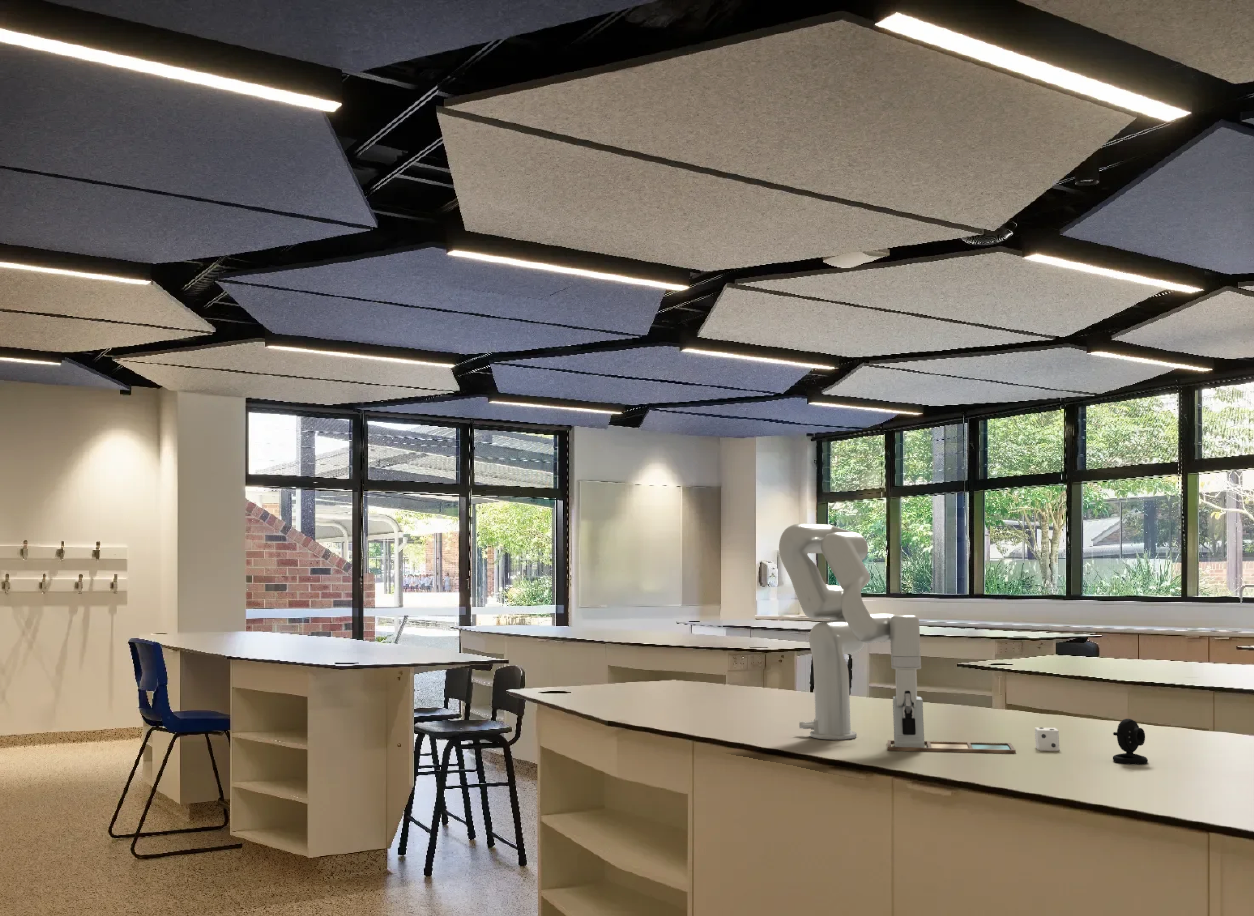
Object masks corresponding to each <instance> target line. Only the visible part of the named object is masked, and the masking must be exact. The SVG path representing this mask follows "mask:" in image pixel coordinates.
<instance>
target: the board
mask: <svg viewBox="0 0 1254 916" xmlns="http://www.w3.org/2000/svg"><path fill="white" fill-rule="evenodd" d="M891 745H894V739H893V740H892V739H891V740H890V739H887V751H896V752H899V751H900V752H937V753H938V752H939V753H940V752H941V753H942V752H943V753H976V754H978V753H979V754H982V753H983V754H1013V755H1014V754H1017V753H1016V749H1015V747H1014V746H1013V745H1012V743H1011V742H987V741H986V742H985V741H984V742H982V741H981V742H980V741H979V742H978V741H942V740H941V741H939V740H938V741H937V740H936V741H934V740H933V741H931V740H924V746H927V747H925V748H919V747H895V746H891Z"/></svg>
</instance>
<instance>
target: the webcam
mask: <svg viewBox="0 0 1254 916" xmlns="http://www.w3.org/2000/svg"><path fill="white" fill-rule="evenodd" d="M1112 735H1113V736H1116V739H1117V744H1118V746H1119V748H1120V749H1121V750H1122V751H1124V753H1118V754H1115V755H1113V756H1112V761H1113V762H1115V763H1116V764H1117V763H1118V764H1121V765H1132V766H1133V765H1139V766H1140V765H1146V764H1147V763H1148V762H1149V760H1148V757H1146V756H1145V755H1140V754H1137V753H1135V752H1136V751H1137V749H1138V748H1139V746H1143V745H1144V744H1145V741H1146V733H1145V730H1144V729H1143V728H1142V727H1140V726H1139V724H1138V722H1137V721H1136V720H1134V719H1132V718H1124V719H1122V720H1120V722H1119V723H1118V725H1117V730H1116V731H1115V732H1112Z"/></svg>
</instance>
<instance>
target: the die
mask: <svg viewBox="0 0 1254 916" xmlns="http://www.w3.org/2000/svg"><path fill="white" fill-rule="evenodd" d="M1034 733H1035V735H1034V736H1035V748H1036V749H1037V751H1053V752H1055V751H1056V752H1057V751H1058V752H1059V751H1060V748H1061V747H1060V732H1059V729H1058V728H1057V727H1043V726H1042V727H1034Z"/></svg>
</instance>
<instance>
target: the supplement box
mask: <svg viewBox="0 0 1254 916" xmlns="http://www.w3.org/2000/svg"><path fill="white" fill-rule="evenodd" d="M903 703H904V706H906V701H905V700H904V702H903ZM910 703H911V706H912V700H911V699H910ZM913 706H914V703H913ZM902 707H903V704H902V706H899V708H898V707H897V699H896V696H892V715H893V717H892V718H893V740H894V744H893V745H894V747H919V748H926V746H925V745H924V741H925V725H924V724H925V723H924V701H923V698H922V697H921V696H917V700H916V707H915V708H914V719H915V729H916V734H915V735H904V734H903V729H902V718H903V708H902Z"/></svg>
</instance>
